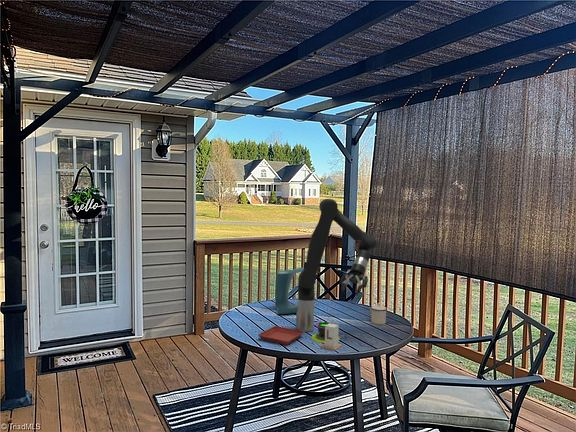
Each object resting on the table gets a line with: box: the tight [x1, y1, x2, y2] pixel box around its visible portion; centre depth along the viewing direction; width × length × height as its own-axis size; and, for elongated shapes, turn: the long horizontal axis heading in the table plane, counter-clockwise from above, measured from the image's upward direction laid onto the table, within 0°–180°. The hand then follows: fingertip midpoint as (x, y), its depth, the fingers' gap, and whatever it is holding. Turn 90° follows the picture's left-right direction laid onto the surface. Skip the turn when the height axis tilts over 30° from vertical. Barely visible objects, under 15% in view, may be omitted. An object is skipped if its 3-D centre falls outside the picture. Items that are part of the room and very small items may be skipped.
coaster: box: [320, 343, 343, 352], centre depth 208 cm, size 8×8×1 cm
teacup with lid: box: [369, 302, 387, 325], centre depth 253 cm, size 12×9×12 cm
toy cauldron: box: [311, 317, 341, 344], centre depth 221 cm, size 15×15×11 cm
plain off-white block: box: [325, 322, 340, 348], centre depth 207 cm, size 5×5×10 cm
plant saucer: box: [257, 325, 304, 346], centre depth 218 cm, size 18×18×3 cm
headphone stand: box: [274, 267, 316, 315], centre depth 273 cm, size 26×28×28 cm
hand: (350, 291), depth 218 cm, fingers open, 8 cm apart
